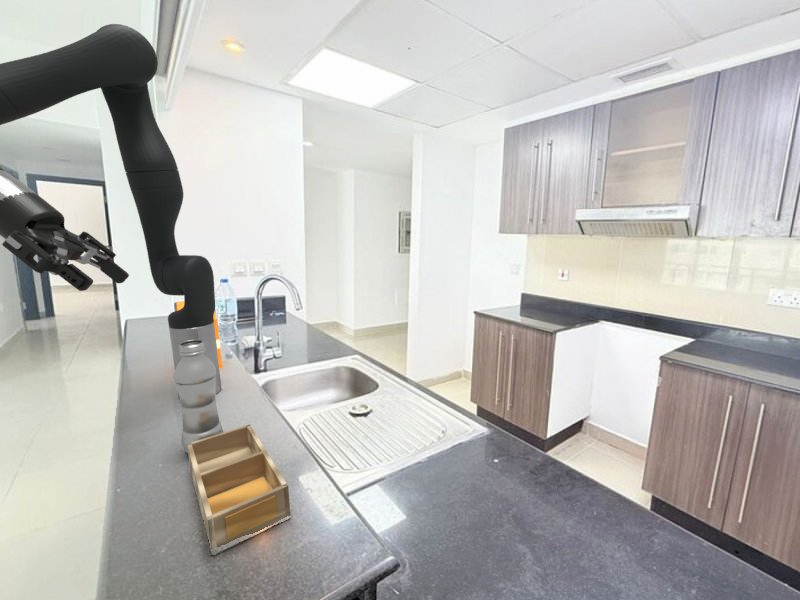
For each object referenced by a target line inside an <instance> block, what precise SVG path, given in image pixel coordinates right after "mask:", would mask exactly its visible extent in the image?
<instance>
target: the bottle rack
mask: <svg viewBox="0 0 800 600" xmlns="http://www.w3.org/2000/svg"><path fill="white" fill-rule="evenodd" d="M187 447H188V453H187V454H188V461H189V467H190V468H189V470H190V474H191V473H192V475H191V478H193V479H192V482H193V481H194V483H193V486H194V485H195V487H194V489H196V490H195V493H196V498H197V497H198V498H197V502H198V501H199V502H198V505H200V506H199V510H200V509H201V510H200V513H202V514H201V517H203V518H202V521H203V520H204V522H203V525H204V524H205V526H204V529H205V528H206V530H205V533H206V532H207V534H206V537H207V536H208V538H207V540H208V539H209V542H208V544H209V543H210V546H209V548H210V547H211V549H213V548H216V547H220V546H221V545H225V544H227V543H229V542H231V541H233V540H235V539H237V538H240V537H242V536H245V535H249V534H253V533H255V532H258V531H260V530H262V529H264V528H265V527H268V526H270V525H273V524H274V523H276V522H278V521H279V520H281V519H283V518H285V517H287V516H291V505H290V494H289V493H290V492H289V485H288V483H287V482H286V480H285V479H284V477H283V475H282V473H281V472H280V470H279V469H278V467H277V465H276V464H275V461H273V459H272V458H271V456H270V454H269V453H268V451H267V450H266V448H265V446H264V444H263V442H261V440H260V439H259V437H258V435H257V433H256V432H255V430H254V429H253V428H252V426H251V424H247V425H244V426H241V427H237V428H234V429H230V430H227V431H223V433H220V434H217V435H214V436H211V437H208V438H204V439H201V440H198V441H195V442H191V443H188V444H187Z"/></svg>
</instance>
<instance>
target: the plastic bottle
mask: <svg viewBox="0 0 800 600" xmlns="http://www.w3.org/2000/svg"><path fill="white" fill-rule="evenodd" d="M179 348H180V352H179V353H180V356H182V359H181V360H180V362H179V363H178V365H177V367H176V369H175V368H174V372H173V380H174V384H175V387H176V390H177V395H178V394H179V397H180V398H179V397H178V398H179V401H180V405H181V412H182V431H181V443H182V444H181V445H182V447H183V450H184V451H185V452H186V453H187V454H188V447H187V444H188V443H191V442H195V441H198V440H201V439H204V438H208V437H211V436H214V435H217V434H220V433H224V430H223V426H222V423H221V420H220V417H219V411H218V407H217V399H216V398H217V396H216V395H217V394H216V391H215V387H216V368H215V366H214V364H213V363H212V361H211V360H210V359H209V358H207V357H206V356H205V355H204V353H205V348H204V342H203V340H189V341H185V342H182V343H180V344H179Z"/></svg>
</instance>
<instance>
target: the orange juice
mask: <svg viewBox="0 0 800 600" xmlns="http://www.w3.org/2000/svg"><path fill="white" fill-rule="evenodd" d="M183 307H184V300H183V301H177V302H176V311H177V310H180V309H182V308H183ZM216 314H217V313H216V311H214V326H215V334H216V343H217V352H218V361H219V368H220V369H223V362H222V354H221V353H222V352H221V342H220V333H219V323H218V318H217V315H216Z"/></svg>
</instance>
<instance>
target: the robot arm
mask: <svg viewBox="0 0 800 600" xmlns="http://www.w3.org/2000/svg"><path fill="white" fill-rule="evenodd" d="M158 64H159V63H158V57H157V53H156V51H155V49H154V47H153V45H152V44H151V42H150V41H149V40H148V39H147V38H146V37H145V36H144V35H143V34H142V33H140V31H138V30H136V29H134V28H133V27H130V26H128V25H126V24H125V25H124V24H119V23H110V24H105V25H104V26H101V27H100V28H98V29H97V30H96V31H95V32H92V33H90V34H89V35H86V36H85V37H83V38H81V39H79V40H77V41H75V42H72V43H70V44H67V45H65V46H62V47H59V48H56V49H53V50H50V51H47V52H43V53H40V54H36V55H32V56H27V57H24V58H19V59H15V60H10V61H6V62H2V63H0V126H2V125H5V124H8V123H11V122H14V121H16V120H20V119H23V118H26V117H28V116H32V115H34V114H37V113H40V112H41V111H44V110H47V109H49V108H51V107H53V106H55V105H58V104H60V103H62V102H64V101H67V100H68V99H72V98H73V97H76V96H78V95H82V94H84V93H87V92H90V91H94V90H98V89H100V90H101V93H102V95H103V97H104V101H105V102H106V105H107V107H108V110H109V113H110V116H111V119H112V122H113V126H114V132H115V136H116V141H117V145H118V149H119V153H120V156H121V161H122V165H123V168H124V169H123V170H124V172H125V175H126V178H127V182H128V185H129V189H130V192H131V194H132V195H131V196H132V197H133V201H134V203H135V207H136V210H137V214H138V216H139V220H140V226H141V228H142V232H143V236H144V241H145V246H146V251H147V257H148V263H149V269H150V273H151V277H152V280H153V282H154V284H155V287H156V288H157V289H158V290H159V291H160V292H161V293H162V294H164V295H168V296H179V297H182V296H184V297H183V298H184V299H183V301H184V307H183V308H182V309H180V310H177V309H176V310H174V311H172V312H170V314H169V315H168V316H167V323H168V330H169V336H170V337H169V338H170V344H171V351H172V358H173V359H172V361H173V365H174V370H175V369H176V367H177V365H178V363H179V362H180V360H181V359H182V356H180V353H179V352H180V348H179V344H180V343H182V342H185V341H189V340H203V342H204V348H205V353H204V355H205V356H206V357H207V358H209V359H210V360H211V361H212V363H213V364H214V366H215V368H216V387H215V391H216V395H217V394H218V393H219V392H220V391H222V382H221V381H222V380H221V371H220V369H219V361H218V352H217V343H216V334H215V326H214V311H215V310H216V296H215V295H216V294H215V276H214V270H213V268H212V264H211V263H210V262H209V259H207V258H206V257H205V256H202V255H196V254H194V255H193V254H192V255H188V254H184V255H183V254H182V255H180V253H179V251H178V247H177V246H178V245H177V243H176V237H175V230H176V228H175V227H176V224H177V220H178V218H179V214H180V212H181V209H182V205H183V201H184V188H183V183H182V179H181V175H180V171H179V169H178V164H177V162H176V159H175V157H174V153H173V152H172V150H171V147H170V146H169V144H168V142H167V140H166V139H165V136H164V135H163V133H162V131H161V129H160V127H159V126H158V123H157V121H156V118H155V115H154V111H153V106H152V102H151V97H150V91H149V82H151V81H152V80H153V78H154V77H155V75H156V73H157V70H158ZM0 236H1V237H2V238H3V239H4V241H3V242H2V244H1V245H2V246H3V247H4V248H5V249H6V250H8V251H9V252H11V254H13V255H14V256H15V257H17V258H18V259H19V260H20V261H22V262H23V263H24V264H25V265H27V266H28V268H31V269H32V271H34V272H36V273H38V274H44V273H45V272H48V273H49V274H51V275H53V276H59V277H60V278H61V279H63V280H64V281H66V282H67V283H68V284H70V285H71V286H73V287H74V288H75V289H77V290H78V291H79V292H83V291H87V290H88V289H89V288H90V287H92V284H94V280H93V278H92V277H90V276H89V275H87V274H86V273H85V272H84V271H82V270H81V269H80V268H79V267H77V266H76V265H74V263H70V261H74V262H77V263H78V264H81V265H90V266H93V267H95V268H97V269H99V270H100V271H101V272H102V273H103V274H105V275H106V276H107V277H108V278H110V279H112V280H113V281H114V283H116V284H122V283H125V281H126V280H127V279H128V278H129V276H130V274H129V273H128V272H127V271H126V270H124V269H123V268H122V267H121V266H120V265H118V264H117V263H116V262H114V261H113V259H114V258H115V257H116V256H117V254H116V253H115V252H114V251H113V250H111V249H110V248H108V247H107V246H106V245H105V244H103V243H102V242H100V241H99V239H96V238H95V237H94V236H93V235H91V234H90V233H89V232H87V231H82V232H81V233H80V234H79V235H77V234H76V233H73V232H71V231H69V230H68V229H66V226H65V217H64V214H62V213H61V212H60V211H59V210H58V209H56V208H55V207H54V206H53V205H52V204H50V203H49V202H47V201H46V200H45V199H44V198H43V197H41V196H40V195H39V194H38V193H36V192H35V191H34V190H33V189H31V188H30V187H28V186H27V185H26V184H25V183H24V182H22V181H20V180H19V179H18V178H16V177H15V176H13V175H12V174H10V173H8V172H7V171H5V170H4V169H3V168H2V167H1V166H0ZM84 253H85V254H84ZM83 254H84V255H83ZM35 256H37V257H39V258H40V260H38V261H36V260H35V259H34V258H35ZM215 312H216V311H215ZM177 395H178V399H180V397H179V394H178V393H177Z"/></svg>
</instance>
